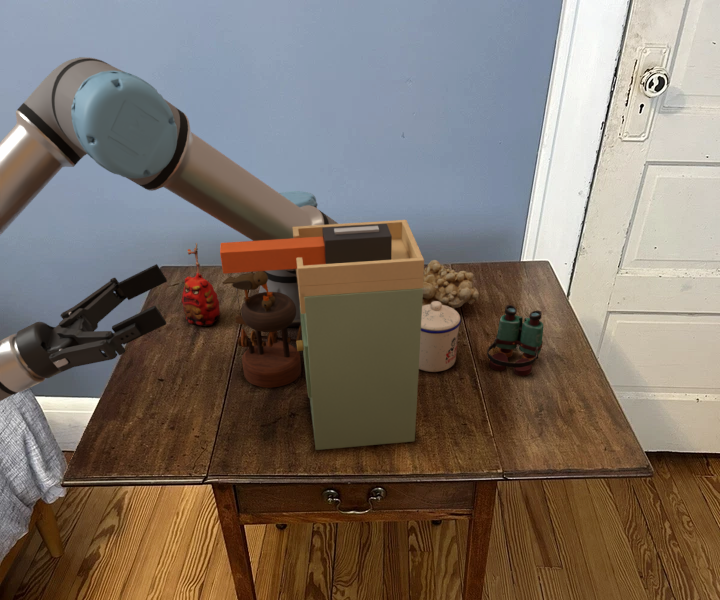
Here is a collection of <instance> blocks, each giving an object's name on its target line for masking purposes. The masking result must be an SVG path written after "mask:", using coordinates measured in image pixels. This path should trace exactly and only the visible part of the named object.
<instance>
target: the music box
mask: <svg viewBox="0 0 720 600" xmlns="http://www.w3.org/2000/svg"><path fill="white" fill-rule="evenodd" d="M267 281H268V276H267V274H266V273H265V272H263V271H255V272H245V273H243V274H240V275H238V276H235V277H234V276H228V277H227V278H226V279H225V280H223V281H222V284H223V285H228V284H232V285H231V286H232V288H235V291H236V295H237V302H238V309H239V314H237V315H235V316H234V321H235V323H236V324H238V325H241V333H240V336H238V338H237V345H238V346H239V347H242V348H248V349H247V350H246V351H245V352H244V353H243V354H242V357H241V362H242V370H243V376H244V379H245V380H246V381H247V382H248V383H249V384H252V385H253V386H256V387H259V388H265V389H266V388H269V389H270V388H271V389H272V388H279V387H280V388H281V387H283V386H286V385H289V384H291V383H294V381H296V380H297V379H298V378H299V377H300V376H301V373H302V365H301V364H302V363H301V353H300V351H297V347H295V346H294V345H292V344H291V343H295V344H296V345H297V342H296V341H297V340H301V338H302V330H301V326H298V331H297V334H296V338H292V337H291V336H288V334H289V333H288V328H289V327H288V326H289V325H290V324H291V323H292V322H293V321H294V319H295V316H296V306H295V304H294V302H293V300H292V299H291V298H290V297H288V296H287V295H285V294H282V293H279V292H268V287H267ZM260 286H262V287H263V288H264V289H265V290H266V291H267V292H263V293H259V292H258V293H256V294H253V295H251V296H249V292H248V291H254V290H257V289H259V288H260ZM239 290H241V291H244V296H245V297H243V298H244V299H243V301H244V302H243V305H242V306H240V305H241V304H240V299H239V298H240V297H239V292H238V291H239ZM243 326H247V327H249V328H250V329H252V330H251V332H250V336H248V334H247V331H246V330H245V329H244V327H243ZM279 331H281V337H279V334H278V332H279ZM262 333H268V334H267V335H262Z"/></svg>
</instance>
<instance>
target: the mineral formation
mask: <svg viewBox="0 0 720 600" xmlns="http://www.w3.org/2000/svg"><path fill="white" fill-rule="evenodd" d="M473 279H474V273H473V272H472V271H471V272H468V271H466V270H460V271H458V272H456V271H455V270H454V269H450V268H447V269H446V268H445V266H444V265H442V264H441V263H440V261H438V260H436V259H433V260H430V262H429V263H428V264H427V266H426V267H424V275H423V299H422V306H424V305H429V304H431V303H432V302H433V301H439V302H441V304H442V305H445V306H448V307H451V308H453V309H454V310H456V309H457V308H461V307H462V306H463V305H464V304H465V303H468V304H469V305H472V304H474V302H475V301H476V302H477V301H479V296H480V293H479V291H478V288H476V287H475V286H474V285H473V284H474V280H473Z"/></svg>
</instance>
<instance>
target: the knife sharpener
mask: <svg viewBox="0 0 720 600" xmlns="http://www.w3.org/2000/svg"><path fill="white" fill-rule="evenodd" d="M322 232H323V237H307V238H291V239H275V240H259V241H253V240H246V241H228V242H220V245H219V246H220V247H219V248H220V249H219V254H220V261H221V268H222V269H221V270H222V274H224V275H225V274H238V273H239V274H240V273H256V272H258V271H270V270H285V269H297V261H296V258H300V257H302V259H303V266H305V265H320V264H335V263H350V262H365V261H380V260H391V253H392V236H391V233H390V231H389V228H388V225H387V224H371V225H355V226H339V227H323V228H322Z"/></svg>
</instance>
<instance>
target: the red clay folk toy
mask: <svg viewBox="0 0 720 600" xmlns="http://www.w3.org/2000/svg"><path fill="white" fill-rule="evenodd" d="M198 250H199V248H198V243H197V242H195V248H194V249H193V251H192V249H190V248H188V249H187V251H186V252H187V254H188V255H189V256H190V255H192V254H193V255H194V257H195V266H196V272H195V273H196V274H195V276H194V277H193V276H187V277H186V278H184V287H183V289H182V293H181V299H180V302H181V304H182V305H183V312H184V316H185V320H186V321H187V322H188V324H191V325H192V324H194V325H197V326H200V327H209V326H210V327H211V326H213V325H214V323H215V322H216V321H217V320H218V319H219V318H220V314H221V309H220V300H219V299H218V293H217V292H216V291H215V288H214V286H213V285H212V284H211V282H210V281H208V280H207V279H206V278H205V277H203V276H202V274H201V273H200V272H201V271H200V269H199V268H200V265H201V264H200V262H199V257H198V256H199V255H198V253H199V252H198Z"/></svg>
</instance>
